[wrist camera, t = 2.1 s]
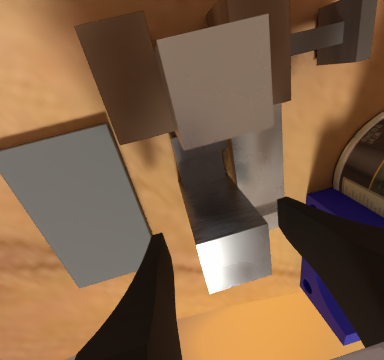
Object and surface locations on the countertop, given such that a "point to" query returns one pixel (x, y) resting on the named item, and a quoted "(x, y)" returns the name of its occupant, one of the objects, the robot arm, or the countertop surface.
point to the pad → (80, 202)
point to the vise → (219, 14)
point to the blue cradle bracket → (310, 281)
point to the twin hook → (228, 103)
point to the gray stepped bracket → (221, 219)
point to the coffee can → (364, 166)
